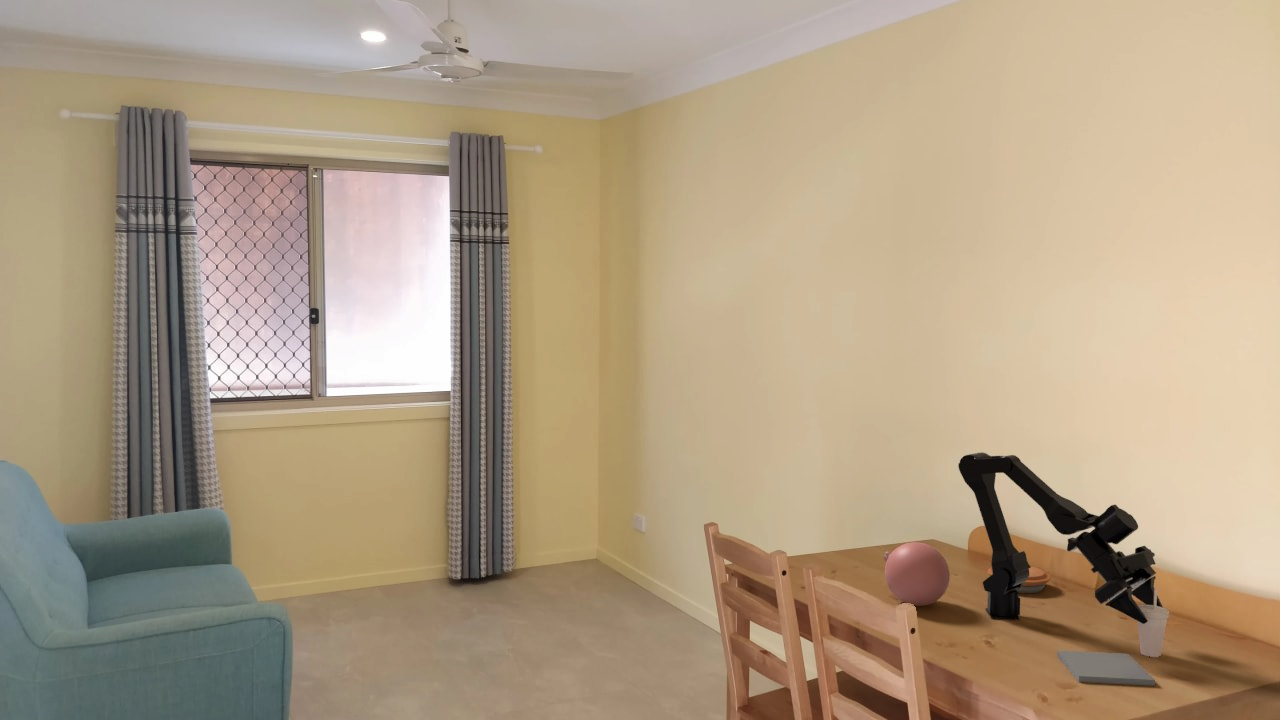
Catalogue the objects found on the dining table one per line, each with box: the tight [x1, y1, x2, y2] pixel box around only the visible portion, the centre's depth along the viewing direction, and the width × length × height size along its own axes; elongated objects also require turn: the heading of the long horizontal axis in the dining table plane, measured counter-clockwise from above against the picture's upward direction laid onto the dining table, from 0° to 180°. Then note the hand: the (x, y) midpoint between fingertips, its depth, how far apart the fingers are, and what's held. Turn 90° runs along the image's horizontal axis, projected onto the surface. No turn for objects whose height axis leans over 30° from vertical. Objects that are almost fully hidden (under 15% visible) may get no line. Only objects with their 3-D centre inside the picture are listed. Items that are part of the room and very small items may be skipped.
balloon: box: [883, 541, 951, 607], centre depth 234 cm, size 15×20×15 cm
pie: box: [987, 565, 1051, 594], centre depth 247 cm, size 16×16×5 cm
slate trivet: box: [1056, 649, 1156, 687], centre depth 190 cm, size 14×14×1 cm
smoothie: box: [1137, 588, 1170, 658], centre depth 198 cm, size 6×6×14 cm
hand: (1154, 617), depth 198 cm, fingers open, 9 cm apart
